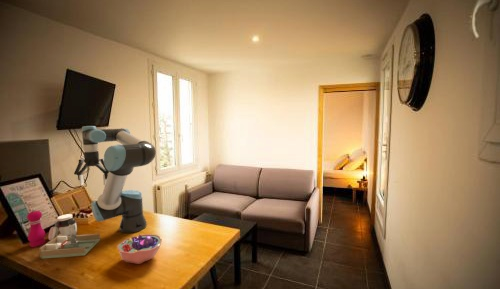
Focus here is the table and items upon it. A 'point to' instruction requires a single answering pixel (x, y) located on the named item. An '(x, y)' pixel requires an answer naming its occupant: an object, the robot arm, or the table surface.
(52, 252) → the beige tray
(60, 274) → the table surface
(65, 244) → the kicker rod
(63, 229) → the spread jar
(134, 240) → the cell model
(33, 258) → the table surface
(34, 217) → the pepper mill
